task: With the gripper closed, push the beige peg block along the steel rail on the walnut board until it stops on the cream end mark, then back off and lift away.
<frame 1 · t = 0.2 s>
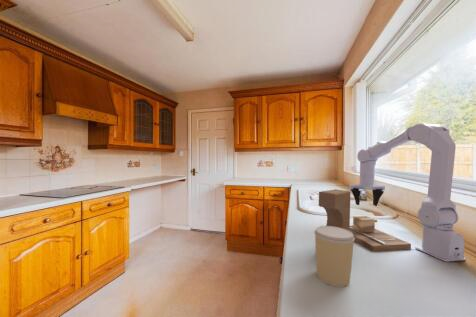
hand: (366, 205, 95), 10 cm above the countertop, fingers open, 7 cm apart
coffee cup: (332, 278, 53), on the countertop
walnut board: (369, 238, 80), on the countertop
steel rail: (362, 239, 80), resting on walnut board
decorative block: (333, 251, 69), on the countertop
beige peg block: (366, 223, 85), point 5 cm above the countertop, slide at 0.0 cm
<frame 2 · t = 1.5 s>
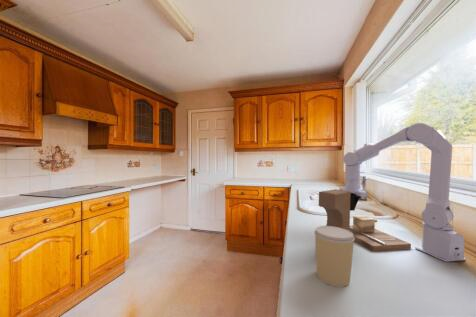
hand: (351, 210, 91), 8 cm above the countertop, fingers closed
nothing on the countertop moved.
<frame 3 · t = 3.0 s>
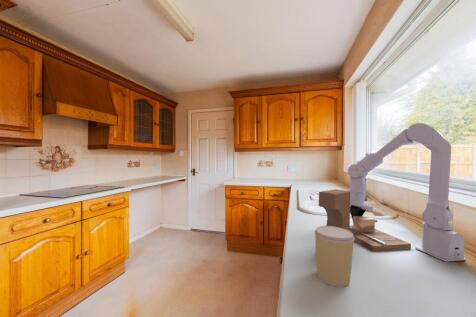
hand: (356, 223, 88), 3 cm above the countertop, fingers closed
beige peg block: (366, 223, 85), point 4 cm above the countertop, slide at 0.1 cm, touching gripper
everything else where it was.
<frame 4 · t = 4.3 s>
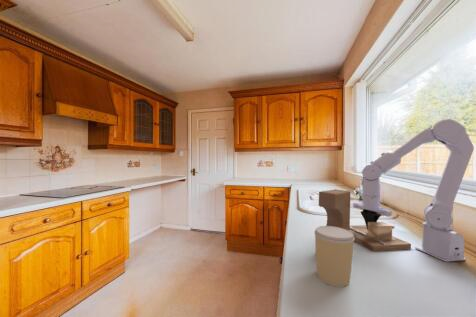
hand: (370, 229, 81), 3 cm above the countertop, fingers closed
beige peg block: (383, 230, 77), point 5 cm above the countertop, slide at 7.7 cm, touching gripper
everything else where it was.
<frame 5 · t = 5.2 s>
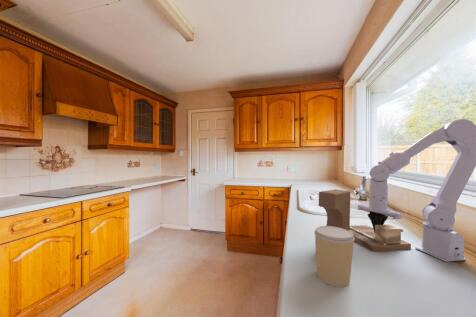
hand: (377, 233, 78), 3 cm above the countertop, fingers closed
beige peg block: (391, 233, 74), point 4 cm above the countertop, slide at 11.1 cm, touching gripper
everything else where it was.
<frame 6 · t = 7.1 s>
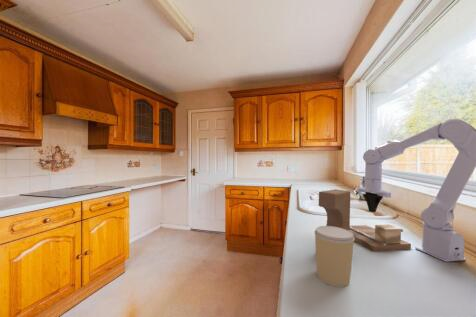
hand: (372, 211, 85), 9 cm above the countertop, fingers closed
beige peg block: (391, 233, 74), point 4 cm above the countertop, slide at 11.0 cm
everything else where it was.
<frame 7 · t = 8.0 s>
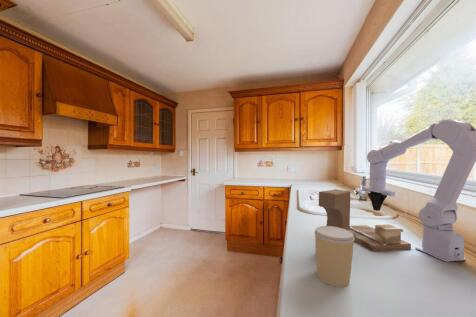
hand: (376, 210, 88), 9 cm above the countertop, fingers closed
nothing on the countertop moved.
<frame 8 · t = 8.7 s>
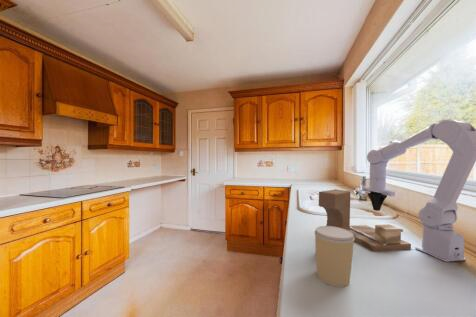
hand: (376, 210, 88), 9 cm above the countertop, fingers closed
nothing on the countertop moved.
at the end: beige peg block slide at 11.0 cm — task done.
